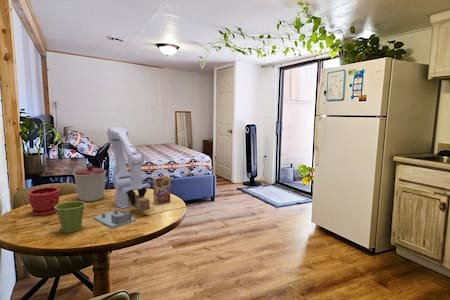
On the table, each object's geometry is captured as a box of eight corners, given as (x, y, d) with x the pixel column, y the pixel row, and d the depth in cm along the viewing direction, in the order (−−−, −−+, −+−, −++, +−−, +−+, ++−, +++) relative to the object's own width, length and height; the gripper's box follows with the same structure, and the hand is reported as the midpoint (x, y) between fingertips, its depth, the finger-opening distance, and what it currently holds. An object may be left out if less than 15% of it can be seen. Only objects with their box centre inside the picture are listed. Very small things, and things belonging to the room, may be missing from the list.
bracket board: (93, 218, 134) (92, 209, 133) (116, 212, 143) (116, 203, 143) (112, 228, 122) (111, 218, 122) (136, 220, 132) (135, 211, 131)
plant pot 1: (24, 214, 139) (22, 191, 138) (51, 207, 151) (49, 185, 150) (39, 219, 133) (37, 195, 132) (66, 211, 145) (64, 188, 143)
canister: (77, 196, 172) (75, 162, 169) (109, 193, 177) (107, 161, 174) (71, 205, 154) (68, 168, 152) (106, 202, 160) (104, 166, 157)
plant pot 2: (84, 233, 117) (82, 208, 116) (52, 237, 114) (50, 210, 112) (89, 223, 128) (88, 199, 127) (60, 226, 125) (58, 202, 124)
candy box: (155, 205, 155) (155, 178, 153) (153, 203, 158) (152, 177, 156) (170, 202, 159) (170, 176, 158) (168, 200, 163) (167, 175, 161)
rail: (128, 204, 145) (127, 195, 144) (135, 203, 148) (134, 193, 147) (142, 211, 136) (142, 201, 135) (149, 209, 139) (149, 199, 138)
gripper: (127, 181, 133) (128, 208, 135) (152, 176, 144) (153, 201, 146) (119, 179, 138) (120, 205, 139) (144, 174, 149) (145, 199, 150)
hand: (136, 203), depth 143 cm, fingers closed on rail, 4 cm apart
